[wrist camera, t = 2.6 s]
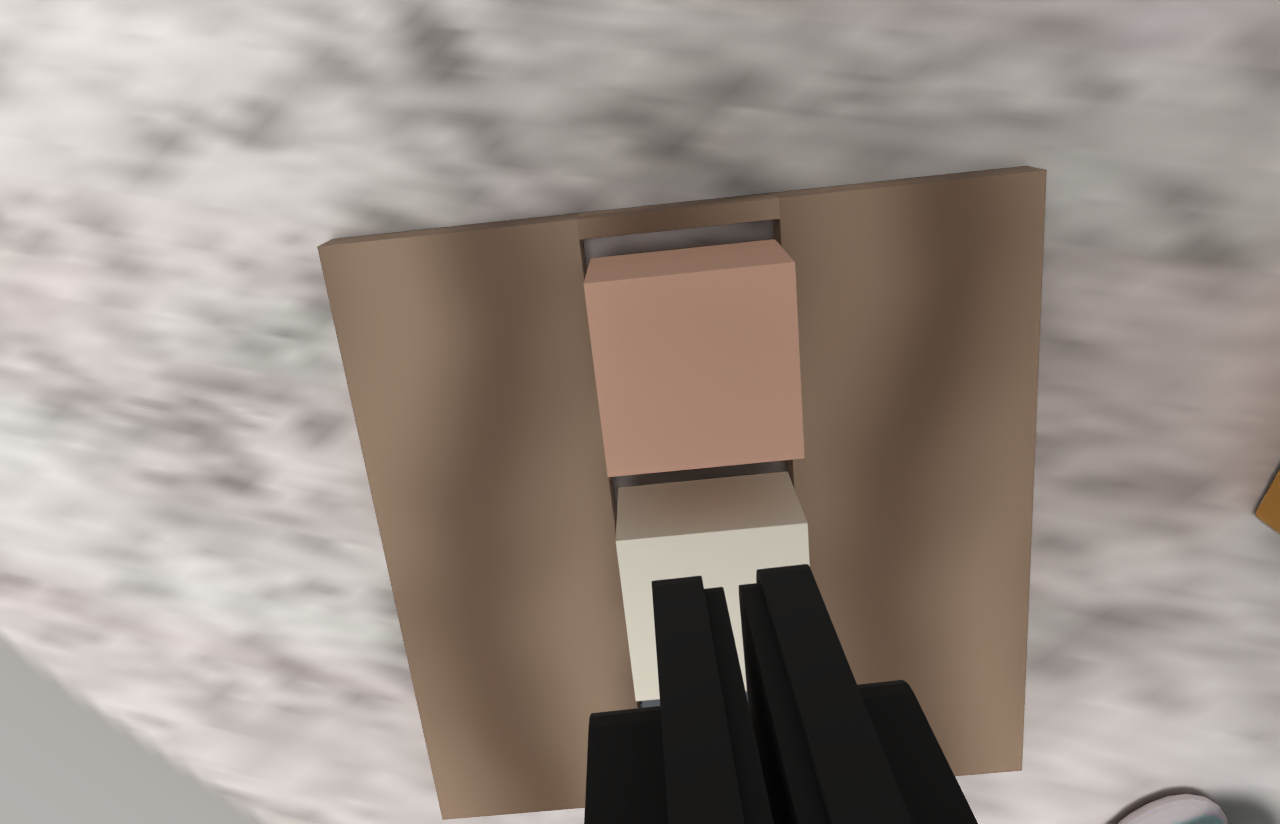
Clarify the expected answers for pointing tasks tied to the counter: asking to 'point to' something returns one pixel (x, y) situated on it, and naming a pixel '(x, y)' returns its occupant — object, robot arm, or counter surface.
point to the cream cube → (701, 549)
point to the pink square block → (696, 357)
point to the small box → (1271, 506)
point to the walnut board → (823, 480)
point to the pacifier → (1178, 811)
